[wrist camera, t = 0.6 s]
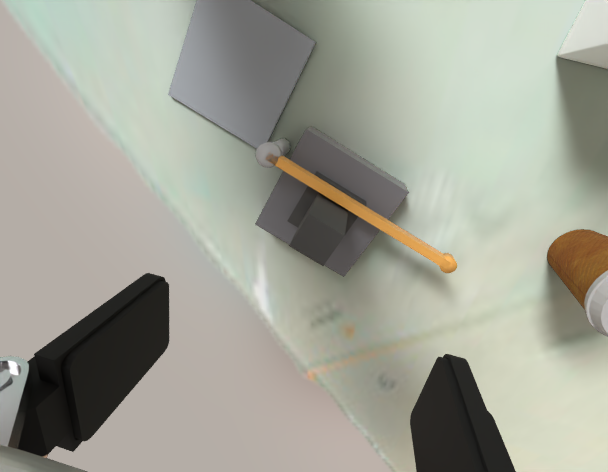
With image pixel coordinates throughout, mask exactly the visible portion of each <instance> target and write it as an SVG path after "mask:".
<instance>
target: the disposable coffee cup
mask: <svg viewBox="0 0 608 472" xmlns="http://www.w3.org/2000/svg"><path fill="white" fill-rule="evenodd" d="M547 258H548V262H549V264H550V266H551V267H552V268H553V269H554V271H555V272H556V273H557V274H558V276H559V277H560V278H561V280H562V281H563V282H564V284H565V285H566V286H567V287H568V289H569V290H570V291H571V293H572V294H573V295H574V296H575V298H576V299H577V300H578V302H579V303H580V304H581V305H582V307H583V308H584V309H585V312H586V315H587V318H588V320H589V322H590V323H591V325H592V326H593V327H594V328H595V329H596V330H597V331H598V332H600V333H602V334H603V335H606V336H608V237H607V236H605V235H602V234H599V233H597V232H595V231H591V230H584V229H581V230H574V231H570V232H568V233H565V234H563V235H562V236H560V237H559V238H557V239H556V240H555V241H554V242H553V243H552V245H551V246H550V248H549V250H548V255H547Z"/></svg>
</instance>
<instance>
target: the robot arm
mask: <svg viewBox="0 0 608 472" xmlns="http://www.w3.org/2000/svg"><path fill="white" fill-rule="evenodd" d="M168 343H169V284H168V283H167V282H166V281H165V278H164V277H161V276H157V275H154V274H150V273H147V274H145V275H143V276H142V277H140V278H139V279H138V280H136V281H135V282H133V283H132V284H131V285H129V286H128V287H126V288H125V289H124V290H122V291H121V292H120V293H118V294H117V295H115V296H114V297H113V298H111V299H110V300H108V301H107V302H106V303H104V304H103V305H101V306H100V307H99V308H97V309H96V310H94V311H93V312H92V313H90V314H89V315H88V316H86V317H85V318H83V319H82V320H81V321H79V322H78V323H76V324H75V325H74V326H72V327H71V328H70V329H68V330H67V331H66V332H64V333H63V334H61V335H60V336H58V337H57V338H56V339H54V340H53V341H52V342H50V343H49V344H47V345H46V346H45V347H43V348H42V349H40V350H39V351H38V352H36V353H35V354H34V355H35V357H33V358H32V359H31V360H29V361H28V362H26V360H24V359H22V358H19V357H14V356H7V357H0V472H87V471H84V470H81V469H78V468H75V467H72V466H69V465H66V464H63V463H59V462H57V461H54V460H50V459H47V456H48V454H49V453H50V452H51V451H52V449H53V448H54V447H55V446H58V447H61V448H64V449H66V450H69V451H72V452H73V451H74V450H75V449H76V448H77V447H78V446H79V444H80V443H81V442H82V441H87V440H88V439H90V438H91V437H92V436H93V435H94V434H95V432H96V431H97V430H98V429H99V428H100V427H101V425H102V424H103V423H104V422H105V421H106V420H107V418H108V417H109V416H110V415H111V414H112V412H113V411H114V410H115V409H116V408H117V407H118V405H119V404H120V403H121V402H122V401H123V400H124V398H125V397H126V396H127V395H128V394H129V393H130V391H131V390H132V389H133V388H134V387H135V385H136V384H137V383H138V382H139V381H140V380H141V379H142V377H143V376H144V375H145V374H146V373H147V372H148V370H149V369H150V368H151V367H152V366H153V364H154V363H155V362H156V361H157V360H158V358H159V357H160V356H161V355H162V354H163V353H164V352H165V350H166V349H167V346H168ZM410 425H411V433H412V440H413V447H414V455H415V462H416V470H417V472H516V471H515V469H514V466H513V464H512V462H511V459H510V457H509V454H508V452H507V449H506V447H505V445H504V442H503V440H502V437H501V435H500V432H499V430H498V428H497V425H496V423H495V420H494V418H493V417H492V415H491V414H490V413H489V412H488V411H487V409H486V407H485V404H484V402H483V399H482V397H481V394H480V392H479V389H478V387H477V384H476V382H475V379H474V377H473V374H472V372H471V369H470V367H469V364H468V362H467V360H466V359H464V358H460V357H456V356H453V355H449V354H445V355H444V356H443V358H442V357H438V358H437V360H436V362H435V364H434V366H433V368H432V370H431V372H430V375H429V377H428V379H427V381H426V383H425V385H424V387H423V389H422V392H421V394H420V396H419V398H418V400H417V402H416V404H415V407H414V409H413V411H412V413H411V419H410Z"/></svg>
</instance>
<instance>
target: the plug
mask: <svg viewBox="0 0 608 472" xmlns="http://www.w3.org/2000/svg"><path fill="white" fill-rule="evenodd" d="M315 176H317V177H318V178H320V179H322V180H323V181H325V182H327V183H328V184H330V185H332V186H333V187H335V188H336V189H338V190H340V191H341V192H343V193H345V194H346V195H348V196H349V197H351V198H353V199H354V200H356V201H358V202H359V203H361V204H363V205H364V206H366V201H365V200H363V199H362V198H360V197H359V196H357V195H355V194H354V193H352V192H350V191H349V190H347V189H346V188H344V187H342V186H341V185H339V184H337V183H336V182H334V181H332V180H331V179H329V178H328V177H326V176H324V175H323V174H321V173H319V172H318V171H316V173H315ZM357 218H358V216H357V215H355V214H354V213H352V212H351V211H349V210H347V209H346V208H344V207H342V206H341V205H339V204H337V203H336V202H334V201H332V200H331V199H329V198H328V197H326V196H324V195H323V194H321V193H319V192H318V191H316V190H314V189H313V188H311V187H309V186H307V188H306V190H305V192H304V193H303V195H302V197H301V198H300V200H299V202H298V203H297V205H296V207H295V209H294V210H293V212H292V214H291V215H290V217H289V219H288V220H287V221H288V222H289V223H291V224H293V225H294V226H296V227H298V229H297V231H296V233H295V235H294V237H293V239H292V241H291V243H290V245H289V246H290V247H292V248H294V249H295V250H297V251H299V252H300V253H302V254H304V255H305V256H307V257H309V258H311V259H312V260H314V261H316V262H317V263H319V264H321V265H322V266H324V264H325V263H326V261H327V260H328V259H329V257H330V256H331V254H332V253H333V252H334V250H335V249H336V247H337V246H338V245H339V243H340V242H341V240H342V239H343V238H344V236H345V235H346V233H347V232H348V230H349V229H350V228H351V226H352V225H353V223H354V222H355V220H356V219H357Z"/></svg>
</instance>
